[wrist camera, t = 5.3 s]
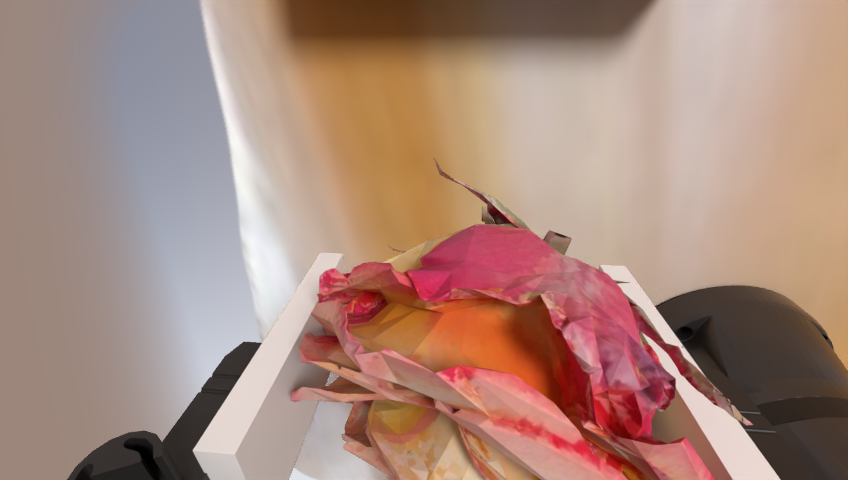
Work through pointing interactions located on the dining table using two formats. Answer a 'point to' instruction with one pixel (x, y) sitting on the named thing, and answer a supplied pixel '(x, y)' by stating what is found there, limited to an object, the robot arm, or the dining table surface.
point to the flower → (498, 363)
